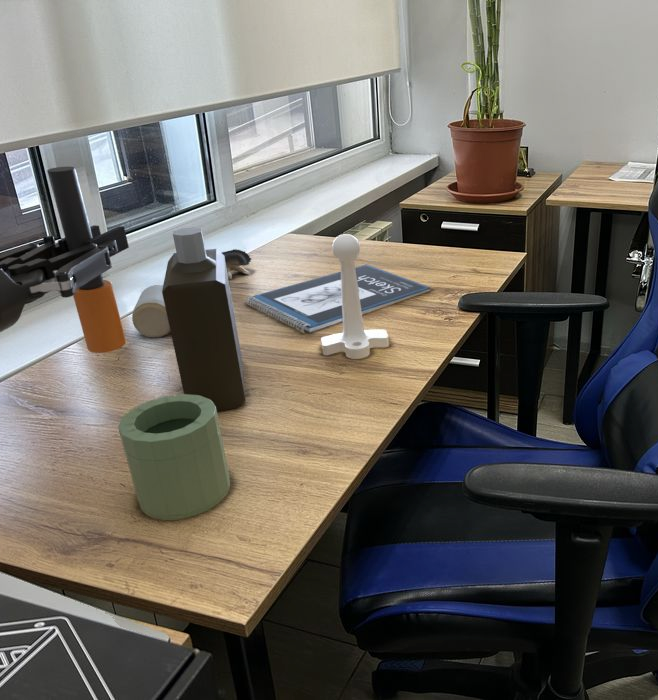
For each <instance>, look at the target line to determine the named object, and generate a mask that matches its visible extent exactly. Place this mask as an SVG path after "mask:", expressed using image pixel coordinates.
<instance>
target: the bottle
mask: <svg viewBox="0 0 658 700" xmlns="http://www.w3.org/2000/svg"><path fill="white" fill-rule="evenodd" d="M172 237H173V241H174V247H175V252H173V254H172V255H171V256H170V258H169V259H168V261H167V264H166V269H165V275H164V279H163V284H162V285H163V289H162V294H163V299H164V304H165V308H166V313H167V318H168V322H169V327H170V331H171V332H170V335H171V340H172V345H173V349H174V354H175V358H176V363H177V367H178V368H177V369H178V372H179V377H180V382H181V386H182V391H183V394H188V395H200V396H202V397H205V398H208V399H210V400H211V401H212V402H213V403H214V405H215V406H216V410H217V413H218V412H223V411H229V410H235V409H236V410H237V409H238V408H240V407H243V405H244V403H246V391H245V390H246V389H245V377H244V376H245V375H244V364H243V356H242V351H241V344H240V339H239V334H238V327H237V321H236V316H235V311H234V304H233V299H232V292H231V286H230V279H229V278H228V274H227V268H226V263H225V257H224V255H223V254H222V252H221V251H220V250H218V249H217V248H210V249H209V248H208V249H206V246H205V240H204V235H203V229H202V228H200V227H194V226H193V227H192V226H191V227H182V228H179V229H176V230H173V232H172Z"/></svg>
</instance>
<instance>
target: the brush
mask: <svg viewBox="0 0 658 700" xmlns="http://www.w3.org/2000/svg"><path fill="white" fill-rule="evenodd" d="M47 176H48V179H49V183H50V187H51V191H52V194H53V198H54V202H55V205H56V209H57V212H58V213H57V214H58V217H59V220H60V224H61V227H62V231H63V235H64V238H65V239H66V243H67V246H68V250H69V252H70V251H72V250H75V249H77V248H80V247H83V246H85V241H88V240H90V239H92V238H93V237H92V233H91V229H90V227H91V226H90V221H89V217H88V214H87V213H88V212H87V210H86V205H85V202H84V198H83V194H82V191H81V185H80V181H79V178H78V174H77V170H76V167H74V166H57V167H52V168H49V169H47ZM72 297H73V300H74V304H75V308H76V312H77V315H78V319H79V323H80V326H81V330H82V333H83V337H84V340H85V344H86V349H87V350H88V352H90V353H95V354H103V353H109V352H114V351H117V350H119V349H121V348H123V347H124V346H125V345H126V343H127V339H126V336H125V332H124V328H123V323H122V320H121V316H120V311H119V308H118V303H117V300H116V296H115V291H114V287H113V284H112V282H111V281H110V280H108V279H104V277H103V273H102V274H101V275H99V276H98V277H96V278H94V279H93V280H91V281H90V282H88V283H86V284H85V285H83V286H82V287H80V288H79V289H77V291H76V292H75V294H74V295H73V296H72Z"/></svg>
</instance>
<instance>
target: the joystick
mask: <svg viewBox="0 0 658 700" xmlns="http://www.w3.org/2000/svg"><path fill="white" fill-rule="evenodd" d="M331 245H332V246H331V251H332V254H333V256H334V257H335V258H336V259H337V261H338V262H339V264H340V272H341V289H342V314H343V322H342V332H338V333H333V334H330V335H325V336H321V338H320V344H321V345H320V346H321V350H322V355H323V356H331V355H333V354H337V353H345V356H346V358H348V359H351V360H360V359H364V358H367V357H368V356H370V354H371V349H373V348H384V349H385V348H389V347H390V340H389V339H390V337H389V334H388V332H387V330H386V329H384V328H382V329H381V328H380V329H377V328H374V329H365V326H364V318H363V315H362V312H361V305H360V298H359V291H358V284H357V277H356V270H355V267H356V264H355V263H356V261H357V260H356V259H357V258H358V256H359V255H360V252H361V245H360V242H359V240H358V239H357V238H356V237H355V236H354V235H352V234H349V233H344V234H340V235H338V236H337V237H335V238H334V240H333V241H332V243H331Z"/></svg>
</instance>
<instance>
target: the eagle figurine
mask: <svg viewBox="0 0 658 700" xmlns="http://www.w3.org/2000/svg"><path fill="white" fill-rule="evenodd" d="M221 253H222V254H223V255H224V257H225V263H226V268H227V274H228V280H232V279H233V275H232V273H231V271H235V272H239V273H242V274H245V275H247V276H249V275H250V271H249V270H247V269H245V268H244V267H243V266H248V265H250V263H251V261H252V257H250V255H249V254H248V253H247V252H246V251H244V250H241V249H237V248H233V249H231V250H227V251H222V252H221Z"/></svg>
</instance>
